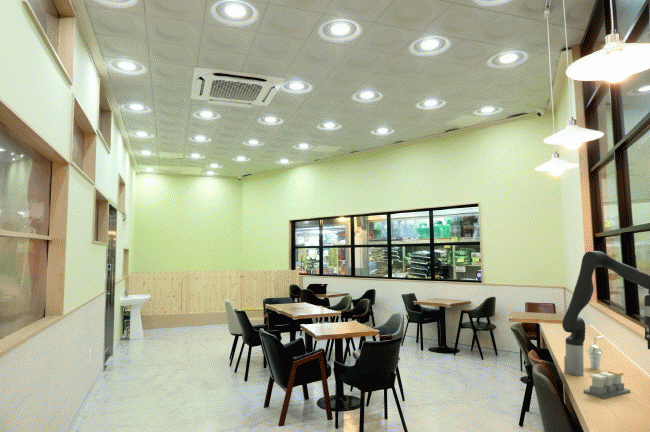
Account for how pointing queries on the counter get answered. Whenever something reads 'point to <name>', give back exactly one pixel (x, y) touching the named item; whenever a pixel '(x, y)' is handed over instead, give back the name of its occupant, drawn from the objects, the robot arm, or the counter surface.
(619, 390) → the keypad
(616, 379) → the amber key
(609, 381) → the middle key
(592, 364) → the cup with straw
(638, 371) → the counter surface
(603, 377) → the front key
